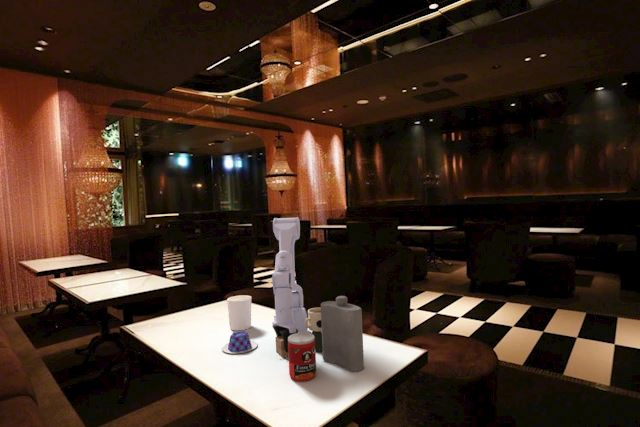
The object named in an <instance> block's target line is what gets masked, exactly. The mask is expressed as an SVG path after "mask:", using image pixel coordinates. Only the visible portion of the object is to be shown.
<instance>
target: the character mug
mask: <svg viewBox="0 0 640 427" xmlns="http://www.w3.org/2000/svg"><path fill="white" fill-rule="evenodd" d="M305 327H306V328H308V331H311V334H313V335H314V337H315V351H323V347H322V324H321V306H320V307H312V308H309V309H307V318H306V319H305Z"/></svg>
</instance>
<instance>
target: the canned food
mask: <svg viewBox="0 0 640 427" xmlns="http://www.w3.org/2000/svg"><path fill="white" fill-rule="evenodd" d="M287 357H288V368H289V369H288V371H289V372H288V374H289V376H290V377H289V378H290V379H291V380H292V381H294V382H298V383H299V382H301V383H304V382H309V381H311V380H313V379H314V378H315V377H316V374H317V361H316V360H317V358H316V350H315V337H314V335H313V334H312V332H311V333H310V332H308V333H306V332H301V333H295V334H292V335H290V336H289V337H288V356H287Z"/></svg>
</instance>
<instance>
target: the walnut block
mask: <svg viewBox="0 0 640 427" xmlns="http://www.w3.org/2000/svg"><path fill="white" fill-rule="evenodd" d="M275 353H276V354H277V355H278V356H280V357H281V358H283V357H289V356H288V352H286V351H285V347H284V341H283V338H282V336H278V337H277V336H275Z"/></svg>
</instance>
